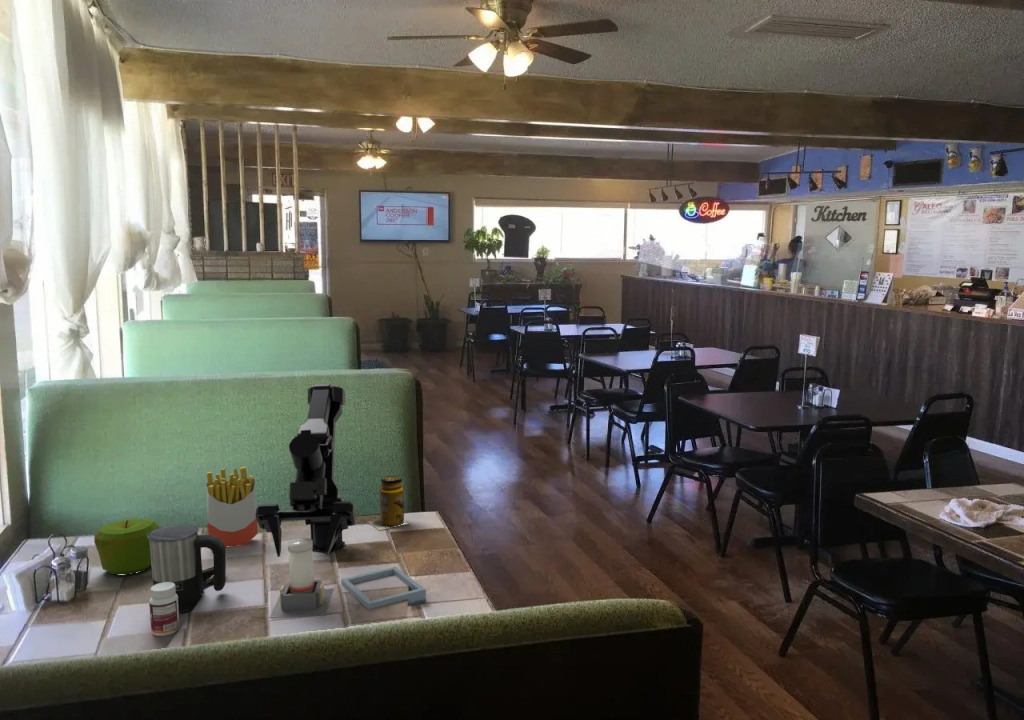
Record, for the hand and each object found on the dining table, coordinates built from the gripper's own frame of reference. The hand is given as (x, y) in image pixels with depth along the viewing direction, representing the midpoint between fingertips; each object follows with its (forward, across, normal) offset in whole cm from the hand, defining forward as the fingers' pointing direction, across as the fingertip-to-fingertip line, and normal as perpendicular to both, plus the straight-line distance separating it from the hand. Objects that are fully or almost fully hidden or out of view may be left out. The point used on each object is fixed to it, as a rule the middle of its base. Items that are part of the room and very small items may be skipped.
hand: (302, 554), depth 148 cm
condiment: (-26, +14, +40) cm, 50 cm away
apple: (-9, -41, +24) cm, 48 cm away
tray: (+5, +15, +9) cm, 18 cm away
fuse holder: (+9, 0, +6) cm, 10 cm away
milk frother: (+2, -24, +12) cm, 27 cm away
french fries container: (-19, -22, +33) cm, 44 cm away
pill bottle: (+13, -23, +2) cm, 27 cm away
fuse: (+8, 0, +5) cm, 9 cm away
